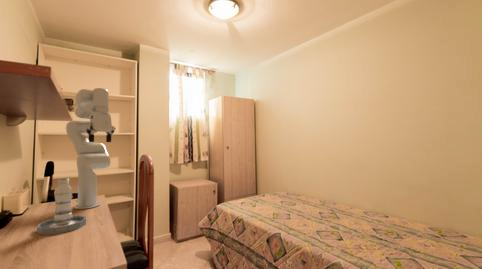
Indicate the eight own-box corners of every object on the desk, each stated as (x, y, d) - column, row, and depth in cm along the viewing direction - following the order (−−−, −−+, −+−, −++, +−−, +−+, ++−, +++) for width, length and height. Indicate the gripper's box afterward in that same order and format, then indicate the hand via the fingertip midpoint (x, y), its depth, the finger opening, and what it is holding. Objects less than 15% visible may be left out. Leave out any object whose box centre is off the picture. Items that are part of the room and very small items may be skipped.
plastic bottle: (73, 224, 102) (74, 179, 103) (53, 227, 98) (54, 180, 99) (71, 220, 107) (72, 177, 108) (53, 224, 103) (53, 179, 104)
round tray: (28, 231, 98) (28, 225, 98) (71, 219, 113) (71, 214, 114) (51, 236, 91) (51, 230, 91) (94, 223, 106) (94, 217, 107)
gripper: (89, 108, 117) (88, 141, 116) (119, 112, 133) (119, 141, 132) (80, 109, 120) (79, 142, 119) (110, 113, 136) (110, 142, 135)
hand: (100, 142), depth 126 cm, fingers open, 9 cm apart
